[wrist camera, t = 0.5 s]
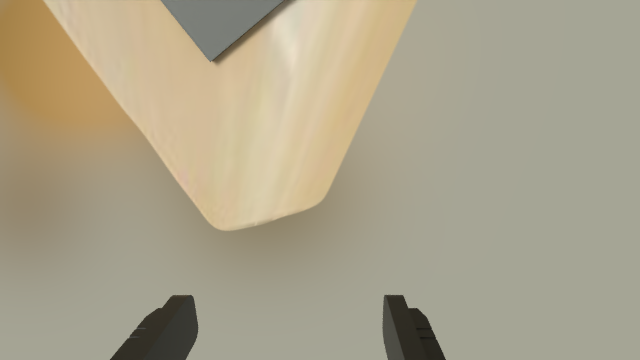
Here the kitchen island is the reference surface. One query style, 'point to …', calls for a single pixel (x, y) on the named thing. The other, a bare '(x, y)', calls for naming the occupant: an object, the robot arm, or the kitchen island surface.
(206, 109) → the kitchen island surface
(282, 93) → the kitchen island surface
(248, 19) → the rubber mat
